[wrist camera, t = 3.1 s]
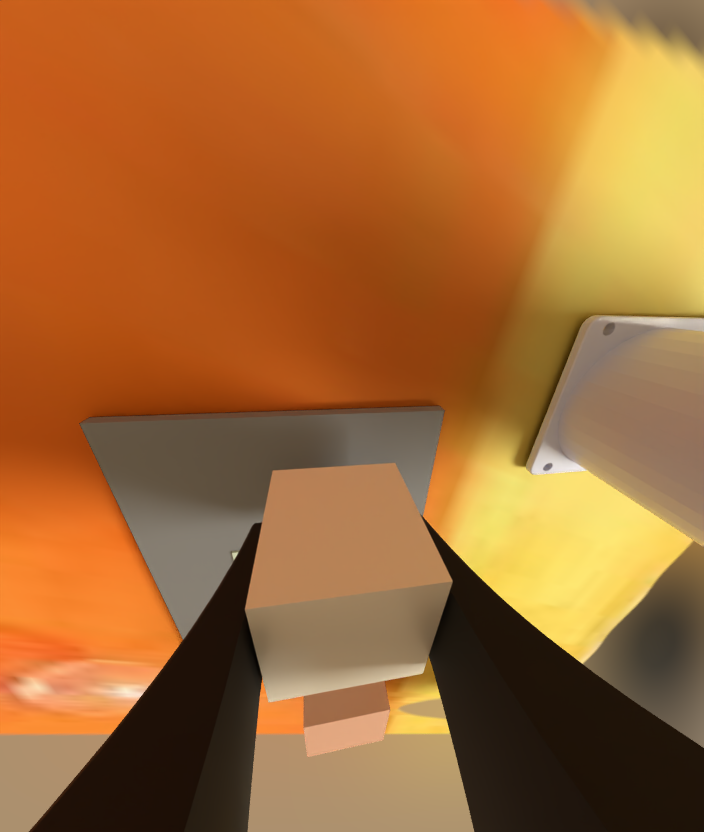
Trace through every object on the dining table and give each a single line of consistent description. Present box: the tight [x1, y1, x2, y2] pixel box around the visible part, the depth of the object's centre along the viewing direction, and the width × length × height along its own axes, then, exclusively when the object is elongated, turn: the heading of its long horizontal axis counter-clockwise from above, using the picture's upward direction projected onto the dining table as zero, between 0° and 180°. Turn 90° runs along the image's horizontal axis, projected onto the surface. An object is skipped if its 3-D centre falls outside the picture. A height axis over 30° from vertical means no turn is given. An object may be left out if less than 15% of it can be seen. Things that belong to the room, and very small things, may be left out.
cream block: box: [245, 463, 453, 702], centre depth 9 cm, size 4×4×4 cm
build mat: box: [79, 406, 445, 640], centre depth 15 cm, size 14×21×1 cm, turn 178°
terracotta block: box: [304, 681, 390, 757], centre depth 16 cm, size 4×4×4 cm
